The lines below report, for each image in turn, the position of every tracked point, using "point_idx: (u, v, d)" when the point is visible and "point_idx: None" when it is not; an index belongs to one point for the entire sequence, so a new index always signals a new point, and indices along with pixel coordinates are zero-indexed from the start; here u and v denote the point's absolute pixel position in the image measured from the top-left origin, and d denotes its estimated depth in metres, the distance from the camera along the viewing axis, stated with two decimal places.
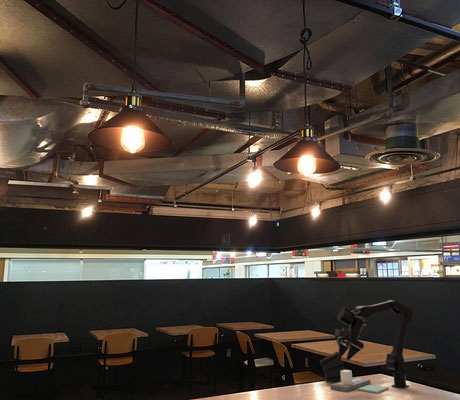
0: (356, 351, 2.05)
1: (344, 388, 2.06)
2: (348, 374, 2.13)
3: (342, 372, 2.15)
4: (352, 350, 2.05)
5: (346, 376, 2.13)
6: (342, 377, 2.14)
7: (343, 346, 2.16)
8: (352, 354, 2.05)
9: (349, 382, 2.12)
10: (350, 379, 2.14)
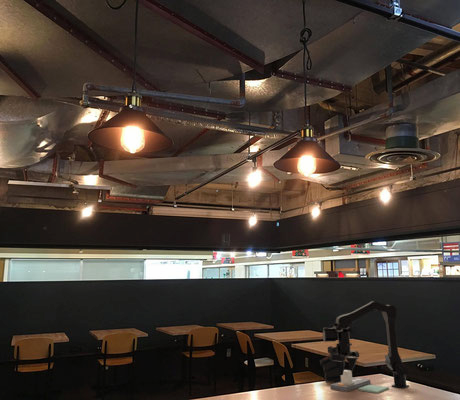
0: (342, 364, 2.11)
1: (344, 388, 2.06)
2: (348, 374, 2.13)
3: None
4: (339, 364, 2.12)
5: (346, 376, 2.13)
6: (342, 377, 2.14)
7: (350, 359, 2.20)
8: (341, 368, 2.11)
9: (349, 382, 2.12)
10: (350, 379, 2.14)
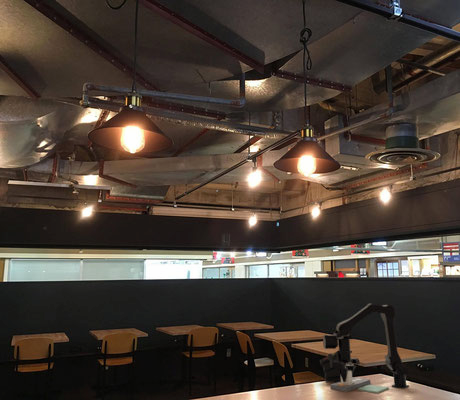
0: (345, 371, 2.12)
1: (344, 388, 2.06)
2: (348, 374, 2.13)
3: None
4: (342, 371, 2.13)
5: None
6: None
7: (348, 367, 2.18)
8: (344, 375, 2.12)
9: (349, 382, 2.12)
10: (350, 379, 2.14)
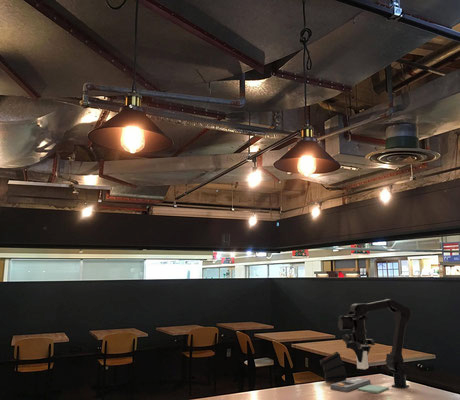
0: (360, 351, 2.10)
1: (344, 388, 2.06)
2: (364, 354, 2.12)
3: None
4: (358, 352, 2.12)
5: (362, 357, 2.11)
6: None
7: (363, 348, 2.16)
8: (359, 355, 2.11)
9: (365, 363, 2.11)
10: (366, 360, 2.12)
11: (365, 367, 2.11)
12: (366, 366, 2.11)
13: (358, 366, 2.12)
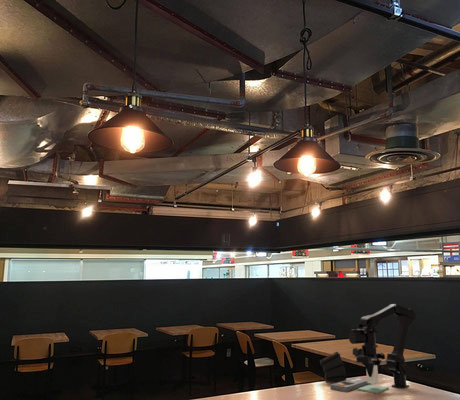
0: (371, 365, 2.07)
1: (344, 388, 2.06)
2: (374, 368, 2.08)
3: None
4: (368, 366, 2.08)
5: None
6: None
7: (373, 362, 2.13)
8: (370, 370, 2.08)
9: (375, 377, 2.08)
10: (376, 374, 2.09)
11: (375, 382, 2.07)
12: (376, 381, 2.08)
13: (368, 380, 2.09)
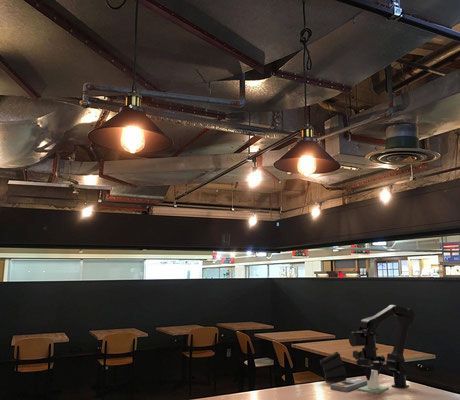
0: (369, 369, 2.05)
1: (344, 388, 2.06)
2: (374, 373, 2.08)
3: None
4: (366, 369, 2.07)
5: (373, 376, 2.07)
6: None
7: (376, 364, 2.14)
8: (368, 373, 2.06)
9: (375, 382, 2.07)
10: (377, 380, 2.09)
11: (376, 387, 2.07)
12: (377, 386, 2.08)
13: (368, 386, 2.08)
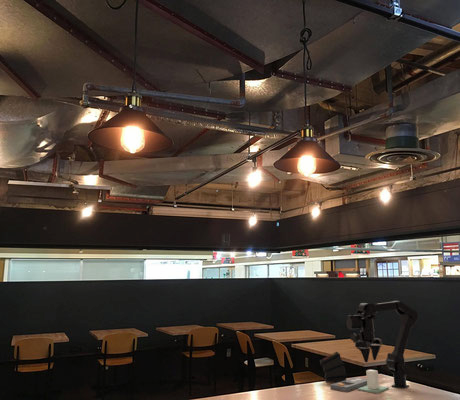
0: (367, 351, 2.09)
1: (344, 388, 2.06)
2: (374, 373, 2.08)
3: (368, 372, 2.09)
4: (364, 351, 2.10)
5: (373, 376, 2.07)
6: (368, 377, 2.09)
7: (374, 347, 2.18)
8: (366, 355, 2.09)
9: (375, 382, 2.07)
10: (377, 380, 2.09)
11: (376, 387, 2.07)
12: (377, 386, 2.08)
13: (368, 386, 2.08)
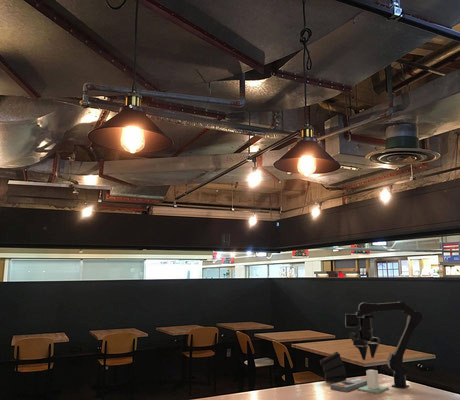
0: (364, 349, 2.15)
1: (344, 388, 2.06)
2: (374, 373, 2.08)
3: (368, 372, 2.09)
4: (362, 349, 2.16)
5: (373, 376, 2.07)
6: (368, 377, 2.09)
7: (372, 345, 2.24)
8: (363, 353, 2.16)
9: (375, 382, 2.07)
10: (377, 380, 2.09)
11: (376, 387, 2.07)
12: (377, 386, 2.08)
13: (368, 386, 2.08)
